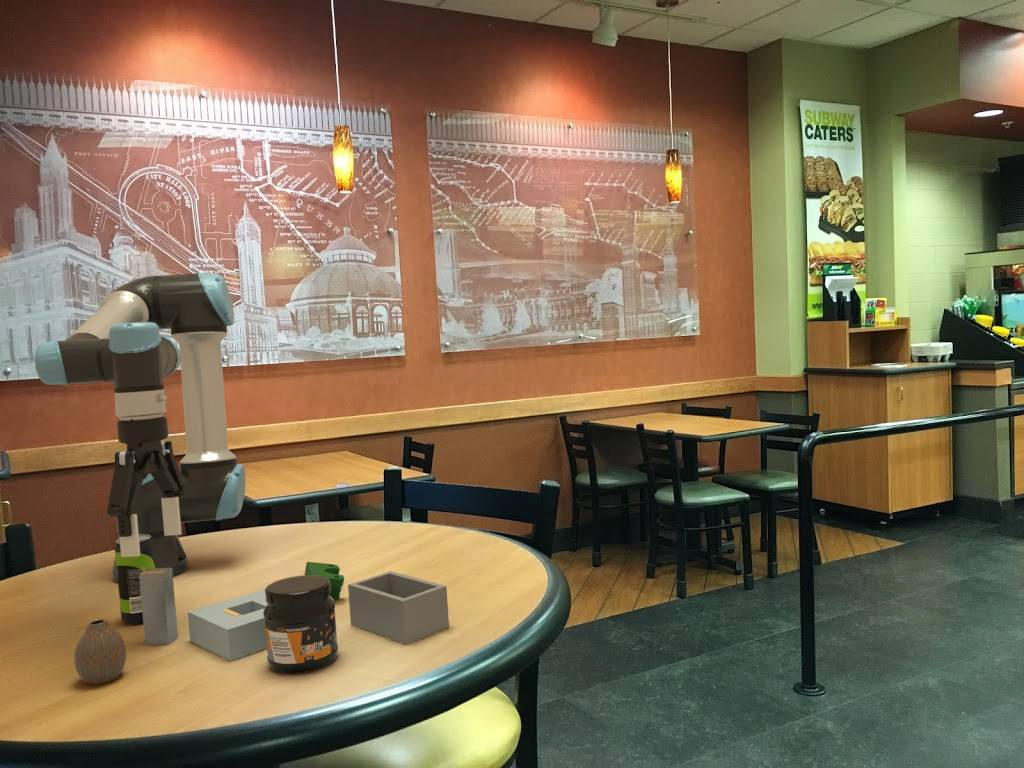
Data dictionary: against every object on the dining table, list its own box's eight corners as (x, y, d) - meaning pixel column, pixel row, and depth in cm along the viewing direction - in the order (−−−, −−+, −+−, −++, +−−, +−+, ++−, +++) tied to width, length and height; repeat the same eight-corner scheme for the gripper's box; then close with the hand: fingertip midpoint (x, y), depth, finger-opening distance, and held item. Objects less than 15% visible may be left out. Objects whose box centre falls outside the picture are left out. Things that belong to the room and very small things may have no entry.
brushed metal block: (145, 645, 134) (138, 573, 133) (155, 638, 137) (148, 567, 137) (168, 644, 134) (162, 572, 133) (178, 637, 137) (171, 566, 136)
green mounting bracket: (335, 624, 151) (345, 585, 148) (302, 622, 149) (312, 583, 146) (332, 583, 162) (342, 546, 159) (302, 581, 160) (311, 543, 157)
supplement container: (272, 682, 117) (265, 600, 116) (263, 657, 126) (257, 581, 126) (345, 666, 121) (339, 587, 120) (331, 642, 130) (326, 569, 130)
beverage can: (167, 614, 149) (159, 534, 148) (141, 627, 143) (133, 543, 142) (140, 612, 151) (132, 533, 150) (113, 624, 145) (106, 542, 144)
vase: (88, 671, 125) (83, 615, 124) (135, 667, 125) (130, 611, 125) (68, 691, 118) (62, 632, 117) (117, 686, 118) (111, 628, 118)
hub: (190, 641, 135) (187, 611, 135) (266, 616, 145) (264, 588, 145) (230, 661, 125) (227, 629, 125) (309, 633, 135) (307, 603, 135)
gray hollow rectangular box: (350, 624, 138) (347, 584, 138) (393, 609, 145) (390, 571, 144) (406, 644, 128) (403, 601, 127) (449, 627, 134) (446, 586, 134)
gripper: (122, 424, 120) (134, 565, 122) (198, 408, 145) (208, 526, 146) (73, 426, 121) (86, 567, 122) (158, 411, 146) (168, 528, 147)
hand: (153, 545), depth 134 cm, fingers open, 13 cm apart
